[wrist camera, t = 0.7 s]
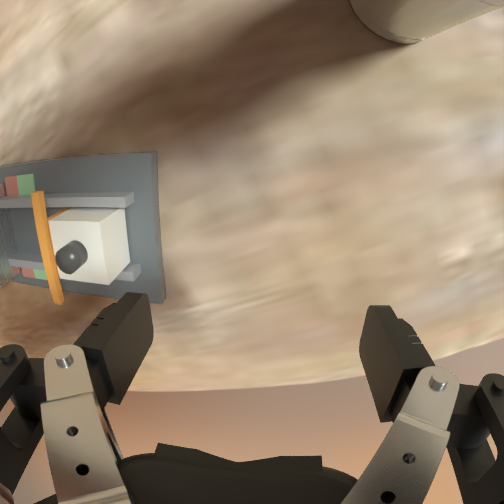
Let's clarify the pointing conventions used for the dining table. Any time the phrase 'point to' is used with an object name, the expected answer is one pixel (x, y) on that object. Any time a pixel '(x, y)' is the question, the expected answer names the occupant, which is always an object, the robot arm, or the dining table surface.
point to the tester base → (90, 195)
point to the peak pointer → (47, 245)
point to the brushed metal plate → (6, 243)
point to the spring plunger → (90, 243)
